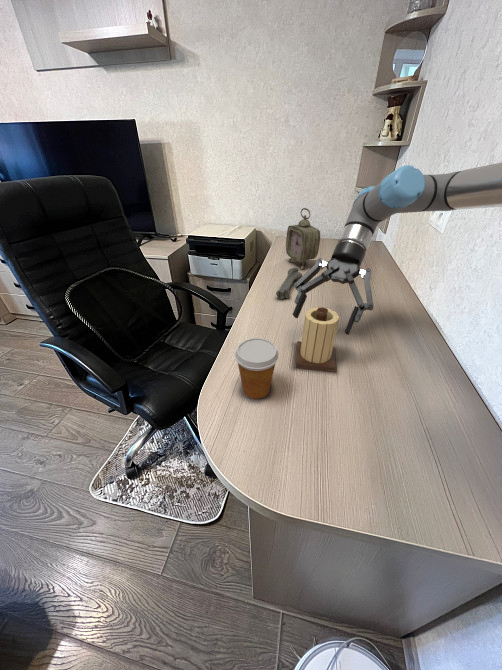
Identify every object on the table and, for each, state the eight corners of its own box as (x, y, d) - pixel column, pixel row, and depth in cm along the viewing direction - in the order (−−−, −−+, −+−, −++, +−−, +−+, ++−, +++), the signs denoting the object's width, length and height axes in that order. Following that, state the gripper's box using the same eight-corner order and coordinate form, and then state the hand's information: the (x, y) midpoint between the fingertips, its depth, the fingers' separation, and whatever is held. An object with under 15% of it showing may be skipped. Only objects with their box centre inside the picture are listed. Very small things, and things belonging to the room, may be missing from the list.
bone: (288, 277, 120) (288, 264, 116) (303, 279, 118) (304, 265, 114) (272, 299, 103) (273, 284, 100) (289, 302, 101) (291, 287, 98)
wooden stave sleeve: (331, 364, 71) (340, 325, 64) (300, 361, 72) (305, 322, 65) (329, 346, 77) (337, 308, 70) (300, 343, 78) (305, 306, 71)
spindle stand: (335, 372, 71) (346, 322, 62) (295, 368, 72) (301, 319, 63) (332, 348, 79) (341, 301, 70) (296, 345, 80) (302, 298, 71)
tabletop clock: (284, 261, 136) (288, 206, 121) (300, 258, 139) (305, 204, 124) (301, 271, 125) (307, 212, 110) (317, 268, 128) (325, 210, 114)
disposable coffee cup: (266, 371, 71) (267, 332, 64) (283, 397, 64) (286, 357, 57) (231, 381, 68) (228, 341, 61) (244, 409, 61) (243, 368, 54)
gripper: (403, 265, 68) (371, 344, 66) (309, 247, 79) (280, 314, 78) (406, 249, 61) (371, 337, 60) (303, 232, 73) (271, 305, 71)
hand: (319, 324), depth 69 cm, fingers open, 13 cm apart
